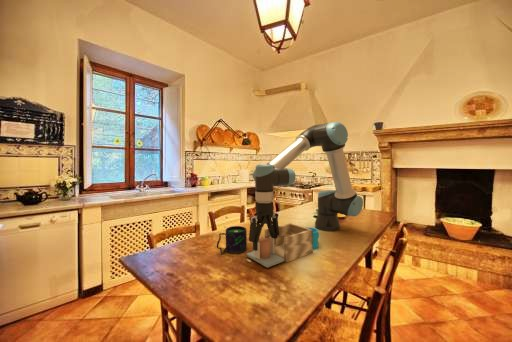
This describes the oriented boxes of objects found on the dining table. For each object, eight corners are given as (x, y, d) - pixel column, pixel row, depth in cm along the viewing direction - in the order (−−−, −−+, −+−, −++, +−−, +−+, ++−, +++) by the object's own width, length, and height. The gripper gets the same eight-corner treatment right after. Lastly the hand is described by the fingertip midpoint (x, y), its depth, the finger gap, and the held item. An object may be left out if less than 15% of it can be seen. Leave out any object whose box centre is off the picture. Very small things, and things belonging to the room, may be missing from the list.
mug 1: (241, 244, 116) (241, 224, 116) (250, 251, 107) (249, 230, 107) (212, 250, 109) (211, 229, 109) (218, 258, 100) (218, 235, 100)
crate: (290, 243, 117) (290, 223, 116) (312, 252, 106) (312, 230, 105) (264, 251, 106) (264, 229, 106) (286, 262, 95) (286, 237, 95)
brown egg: (265, 252, 101) (265, 237, 100) (272, 256, 97) (272, 240, 96) (256, 255, 98) (255, 239, 97) (263, 259, 94) (263, 243, 93)
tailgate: (264, 247, 106) (246, 253, 100) (285, 258, 95) (267, 265, 89) (264, 250, 106) (246, 255, 100) (285, 260, 95) (267, 267, 89)
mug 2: (311, 251, 107) (311, 233, 107) (297, 246, 113) (297, 230, 113) (325, 244, 115) (325, 228, 115) (311, 240, 121) (311, 225, 121)
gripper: (276, 197, 105) (276, 246, 106) (239, 203, 93) (239, 258, 94) (288, 199, 99) (288, 251, 100) (249, 205, 87) (250, 265, 88)
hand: (264, 255), depth 97 cm, fingers open, 7 cm apart
